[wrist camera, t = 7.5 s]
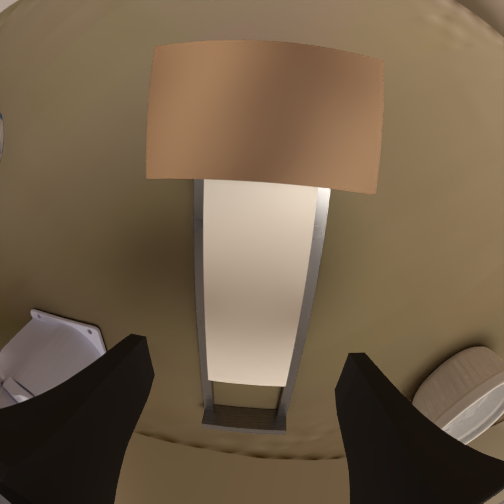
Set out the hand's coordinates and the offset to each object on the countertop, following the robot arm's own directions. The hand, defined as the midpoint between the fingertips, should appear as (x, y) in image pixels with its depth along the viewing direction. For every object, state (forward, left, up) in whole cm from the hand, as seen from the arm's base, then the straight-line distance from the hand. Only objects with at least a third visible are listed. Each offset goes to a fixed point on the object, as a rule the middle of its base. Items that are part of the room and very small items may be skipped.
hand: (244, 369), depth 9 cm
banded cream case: (0, +2, -9) cm, 9 cm away
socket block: (0, +9, -9) cm, 12 cm away
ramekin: (+23, -13, -9) cm, 28 cm away
